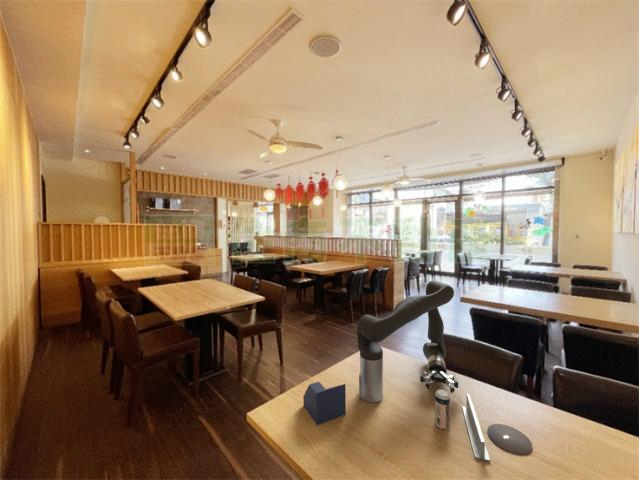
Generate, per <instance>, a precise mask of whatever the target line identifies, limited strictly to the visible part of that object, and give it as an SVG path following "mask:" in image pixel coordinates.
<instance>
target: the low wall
mask: <svg viewBox="0 0 639 480" xmlns="http://www.w3.org/2000/svg"><path fill="white" fill-rule="evenodd" d="M465 405H466V406H464V405H462V406H461V409H462V410H461V411H462V413H463V418H464V422H465V425H466V429H467V433H468V437H469V441H470V444H471V448H472V453H473V456H474V460H477V461H481V462H485V463H489V464H491V458H490V454H489V452H488V449H487V446H486V442H485V438H484V435H483V431H482V429H481V428H482V427H481V425H480V422H479V419H478V416H477V413H476V409H475V406H474V403H473V400H472V397H471V395H470V393H466V404H465Z"/></svg>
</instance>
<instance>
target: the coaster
mask: <svg viewBox="0 0 639 480" xmlns="http://www.w3.org/2000/svg"><path fill="white" fill-rule="evenodd" d="M486 431H487V436H488V438H489V440H491V442H492V443H493V444H495V446H497V447H499V448H500V449H502V450H504V451H505V452H508V453H511V454H514V455H527V454H530V453H531V451H532V450H533V444H532V441H531V440H530V439H529V437H528V436H527V435H526V434H524V433H523V432H522V431H520V430H518V428H515V427H512V426H510V425H507V424H502V423H493V424H490V425H489V426H488V428H487V430H486Z"/></svg>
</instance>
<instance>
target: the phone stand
mask: <svg viewBox="0 0 639 480" xmlns="http://www.w3.org/2000/svg"><path fill="white" fill-rule="evenodd" d="M346 394H347V393H346V384H345V383H343V384H338V385H335V386H331V387H327V388H325V386H323V384H321V382H320V381H316V382H313V383H310V384H308V386H307V389H306V390H305V392H304V394H303V407H304V408H306V409H305V410H306V411H308V412H307V413H308V415H309V414H310V415H309V416H310V418H311V417H312V418H311V419H312V420H314V421H313V422H314V423H315V425H316V426H319V425H320V426H321V425H322V424H325V423H327V422H328V423H329V422H331V421H333V420H335V419H338V418H341V417H343V416H345V415H347V413H346V412H347V411H346V410H347V409H346V408H347V407H346V405H347V404H346V401H347V399H346V398H347V397H346V396H347V395H346Z"/></svg>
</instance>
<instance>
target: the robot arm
mask: <svg viewBox="0 0 639 480" xmlns="http://www.w3.org/2000/svg"><path fill="white" fill-rule="evenodd" d="M454 296H455V290H454V288H453V287H452V285H451V286H450V285H449V284H448V283H444V282H441V281H439V280H438V281H437V280H430V281H429V282H428V283H427V285H426V288H425V294H424V295H423V294H421V295H413V296H408V297H407V298H404V299H403V300H401V301H399V302H397V304H396V305H395V307H394V309H393V310H392V313H391V314H388V315H387V316H386V317H383V318H377V317H375V316H373V315H370V314H363V315H362V316H361V317H360V318H359V319H358V321H357V322H358V323H357V325H356V337H357V348H358V351H359V374H358V397H359V398H358V399H362V400H363V401H365V402H367V403H371V404H374V403H375V404H376V403H379V402H381V401H382V400H383V398H384V351H383V348H382V346H380V344H379V343H380V342H382V341H384V340H386V339H387V338H388V337H389V336H391V335H392V334H393V333H395V332H396V331H397V330H398V329H401V328H402V327H404V326H405V325H407V324H409V323H411V322H412V321H414V320H416V319H418V318H420V317H422V316H423V315H425V314H426V313H427V317H428V326H427V327H428V328H427V339H428V340H429V341H430V342H425V343H424V344H423V346H422V353H423V355H424V357H425V359H426V360H427V371H424V370H425V369H420V373H419V374H420V375H419V381H420V383H424V387H425V388H427V390H430V384H432V383H441V384H443V385H445V386H446V387H449V390H450V394H453V393H455V391H456V390H455V389H459V380H458V377H457V374H456V373H452V375H449V373H448V372H447V367H446V366H447V365H446V362H445V360H444V359H445V358H446V356H447V351H446V347H445V342H444V331H445V330H444V329H445V327H444V320H443V319H442V316H441V313H440V312H439V307H442V306H445V305H446V304H448V303H450V302H451V300H453V297H454Z"/></svg>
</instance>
